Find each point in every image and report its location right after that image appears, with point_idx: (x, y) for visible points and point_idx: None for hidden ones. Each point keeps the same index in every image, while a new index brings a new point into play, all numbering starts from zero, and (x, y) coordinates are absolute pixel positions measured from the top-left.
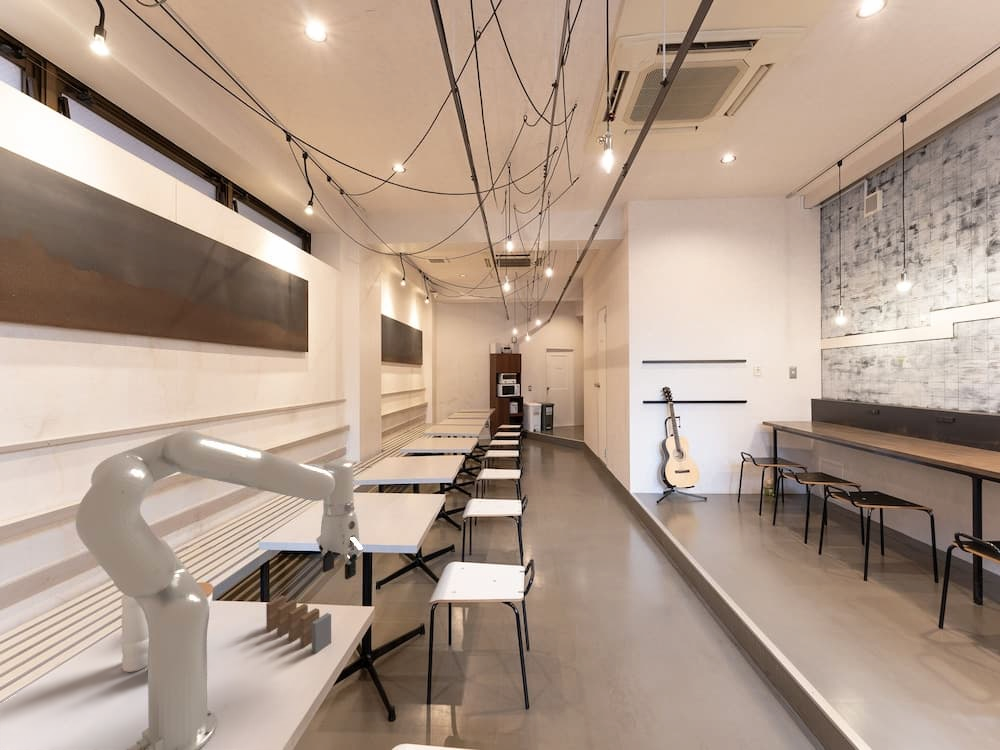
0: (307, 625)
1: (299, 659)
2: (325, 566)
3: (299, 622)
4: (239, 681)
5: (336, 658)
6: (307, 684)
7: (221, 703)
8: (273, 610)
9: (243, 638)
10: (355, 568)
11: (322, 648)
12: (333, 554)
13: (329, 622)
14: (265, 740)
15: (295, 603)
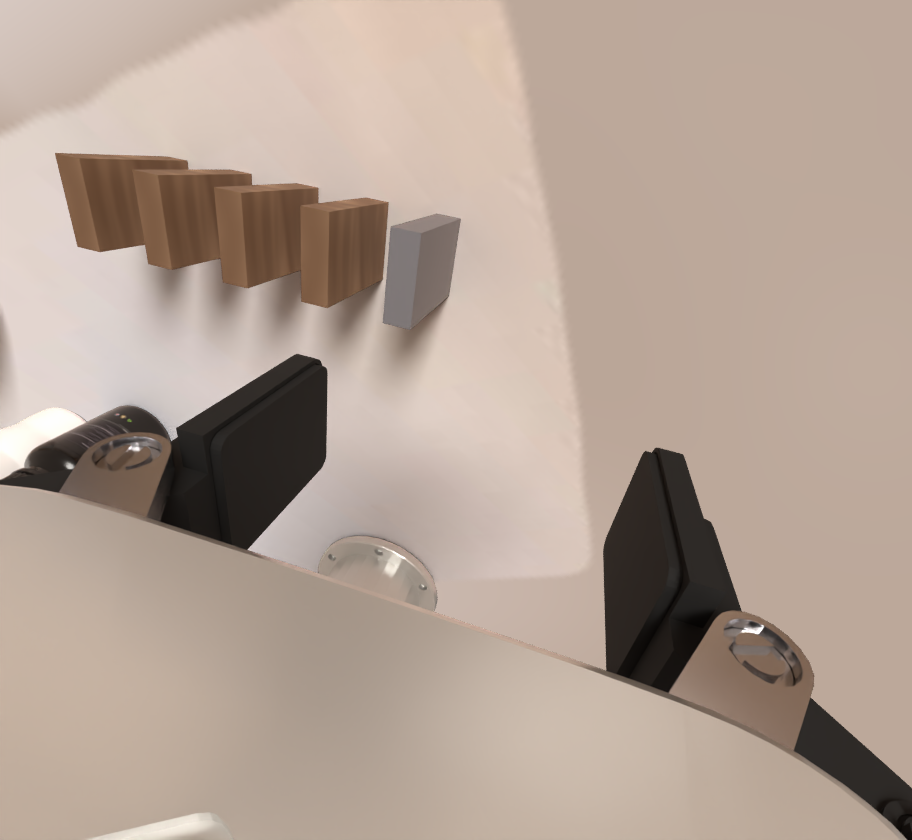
0: (347, 278)
1: (415, 335)
2: (293, 492)
3: (282, 238)
4: (333, 445)
5: (544, 298)
6: (527, 425)
7: (363, 505)
8: (127, 228)
9: (160, 292)
10: (694, 500)
11: (452, 265)
12: (211, 431)
13: (432, 240)
14: (552, 574)
15: (168, 181)
